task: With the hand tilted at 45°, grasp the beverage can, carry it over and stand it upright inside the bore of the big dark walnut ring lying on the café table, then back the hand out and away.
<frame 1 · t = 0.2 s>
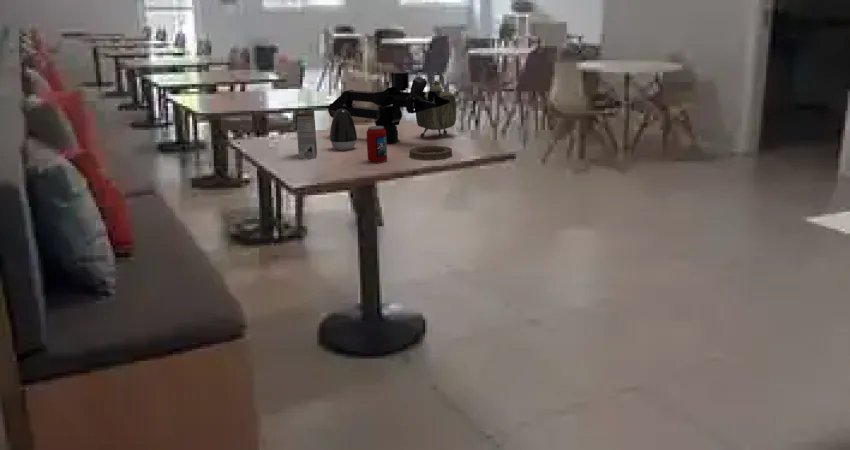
hand: (442, 103, 301), 17 cm above the table, tool horizontal, fingers open, 9 cm apart
walnut ring: (430, 155, 293), on the table
tabletop clock: (437, 137, 327), on the table
beverage can: (377, 161, 287), on the table
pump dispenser: (343, 149, 309), on the table
coffee box: (308, 156, 298), on the table
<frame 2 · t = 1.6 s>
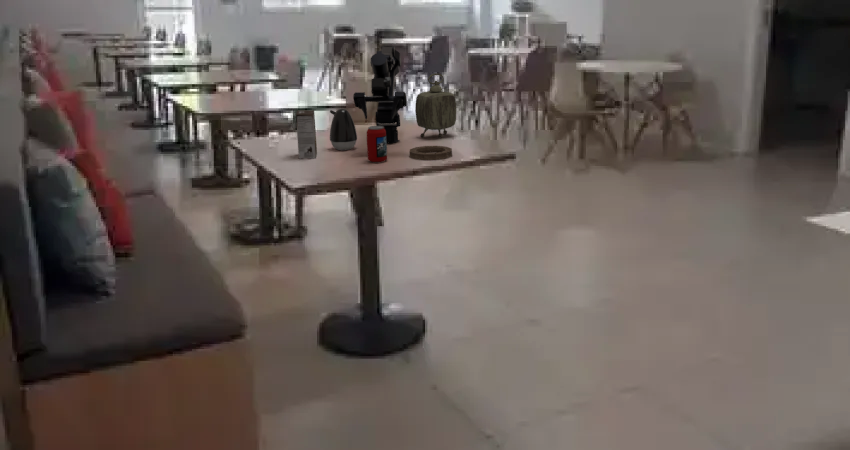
hand: (378, 118, 290), 14 cm above the table, tool tilted 45°, fingers open, 9 cm apart
nothing on the table moved.
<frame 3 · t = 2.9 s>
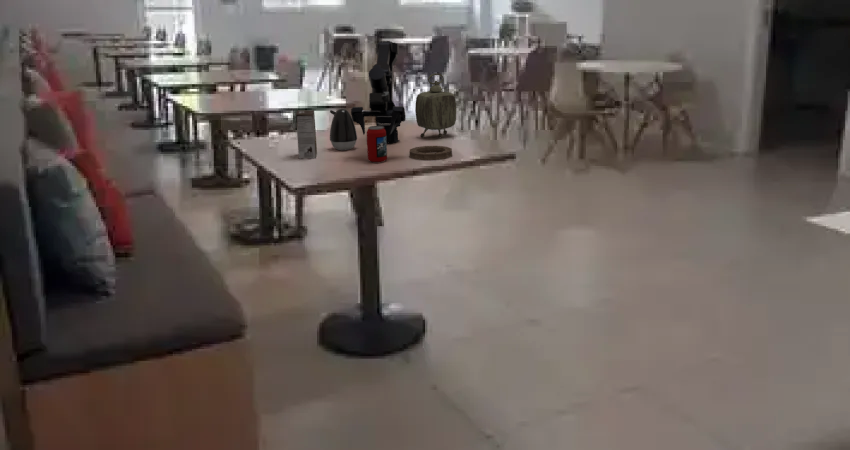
hand: (376, 133, 285), 9 cm above the table, tool tilted 45°, fingers open, 9 cm apart
nothing on the table moved.
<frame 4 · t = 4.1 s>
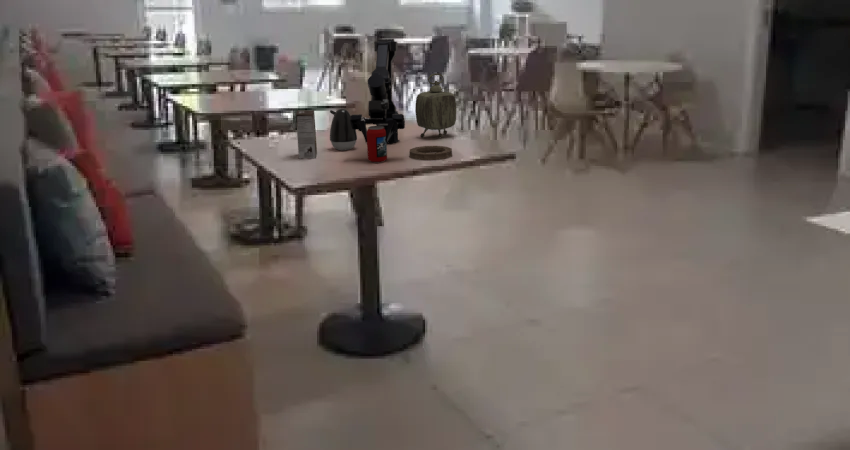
hand: (376, 141, 283), 7 cm above the table, tool tilted 45°, fingers closed on beverage can, 7 cm apart
beverage can: (377, 161, 287), on the table, touching gripper
everything else where it was.
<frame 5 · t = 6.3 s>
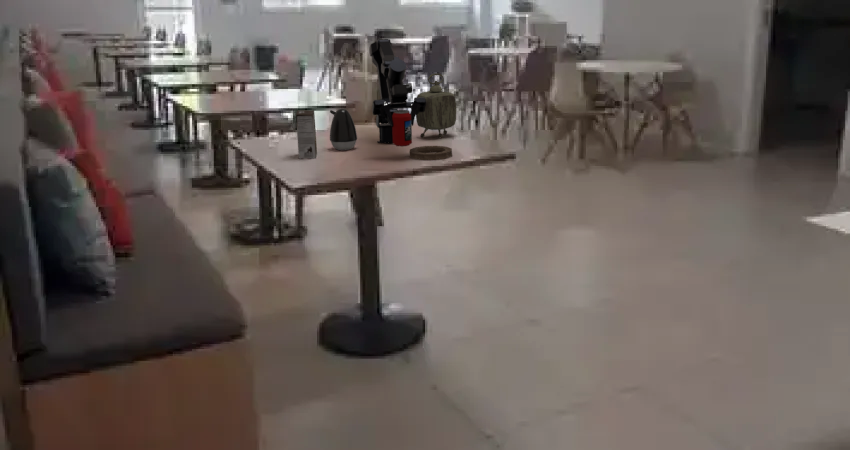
hand: (402, 125, 286), 12 cm above the table, tool tilted 45°, fingers closed on beverage can, 7 cm apart
beverage can: (402, 145, 289), point 4 cm above the table, touching gripper
everything else where it was.
when the fingers open (8 cm above the table, at t = 8.3 s): beverage can drops 1 cm, resting in walnut ring.
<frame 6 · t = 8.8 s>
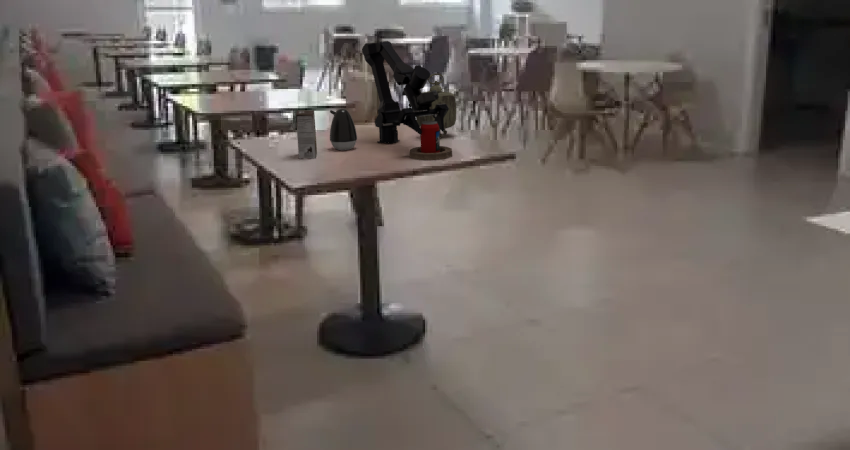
hand: (432, 132, 290), 9 cm above the table, tool tilted 45°, fingers open, 9 cm apart
beverage can: (430, 156, 294), resting in walnut ring
everything else where it was.
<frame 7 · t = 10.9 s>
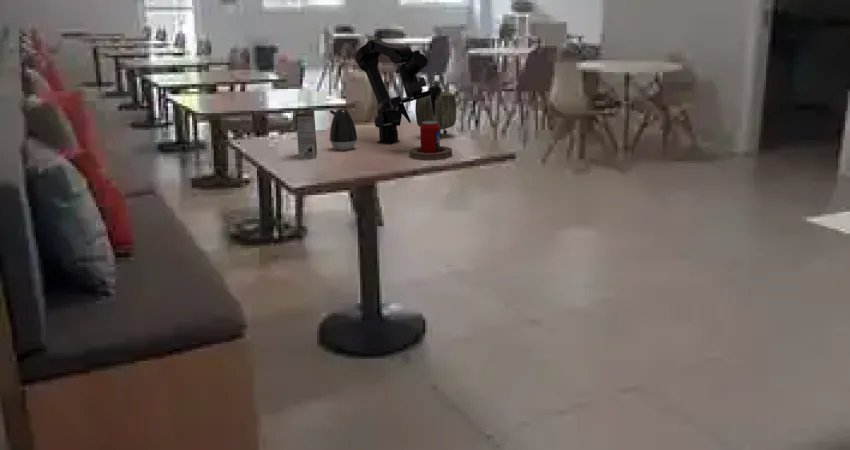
hand: (422, 119, 297), 12 cm above the table, tool tilted 30°, fingers open, 9 cm apart
nothing on the table moved.
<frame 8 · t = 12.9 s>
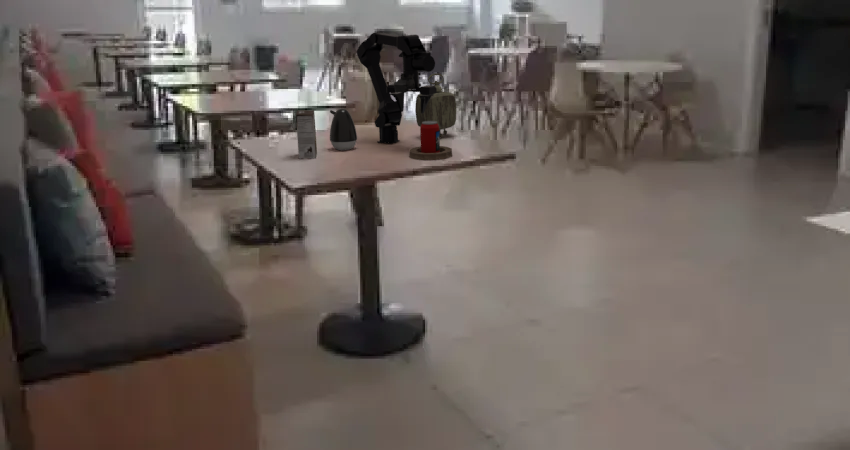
hand: (412, 112, 305), 13 cm above the table, tool pointing down, fingers open, 9 cm apart
nothing on the table moved.
at the end: beverage can 0.2 cm off-centre on the walnut ring, point 0.0 cm above the walnut ring's base; beverage can tilted 0°; the gripper is holding nothing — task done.
